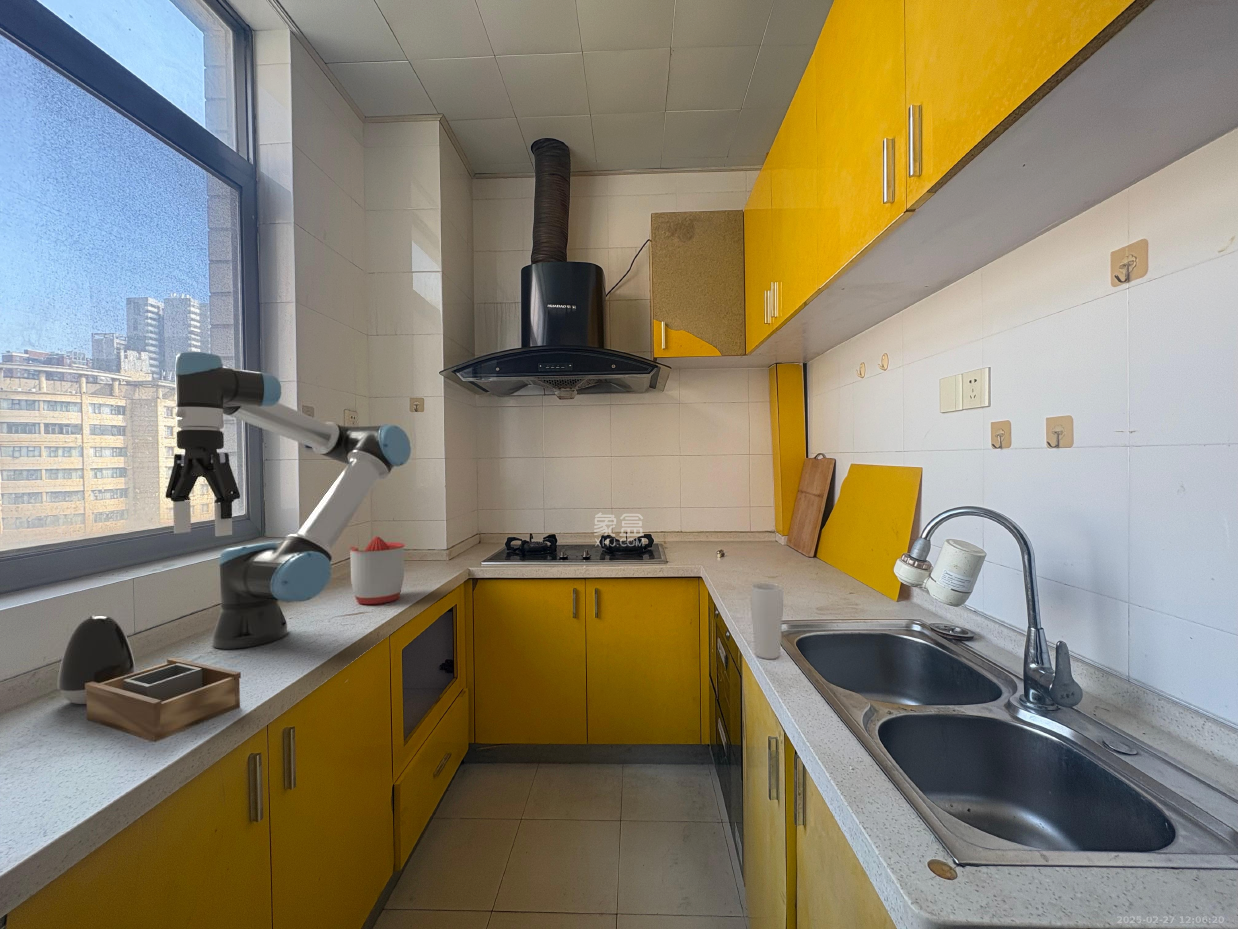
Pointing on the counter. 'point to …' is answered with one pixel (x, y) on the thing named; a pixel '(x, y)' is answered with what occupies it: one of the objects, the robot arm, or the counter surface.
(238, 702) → the large crate
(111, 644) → the pump dispenser
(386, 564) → the citrus juicer
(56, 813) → the counter surface
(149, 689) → the box
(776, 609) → the drinking glass
